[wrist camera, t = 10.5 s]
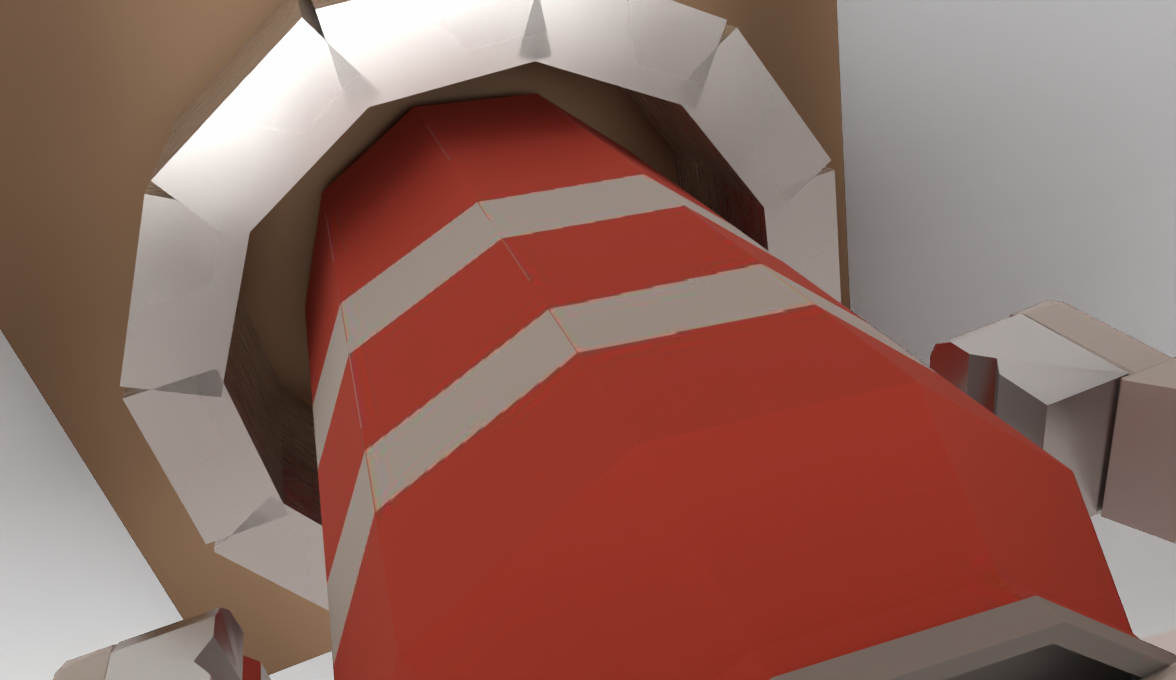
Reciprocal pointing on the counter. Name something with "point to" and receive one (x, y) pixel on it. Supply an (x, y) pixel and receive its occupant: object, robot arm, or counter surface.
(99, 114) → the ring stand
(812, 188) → the white segmented ring
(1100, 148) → the counter surface
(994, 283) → the counter surface
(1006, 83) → the counter surface
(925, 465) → the beverage can
